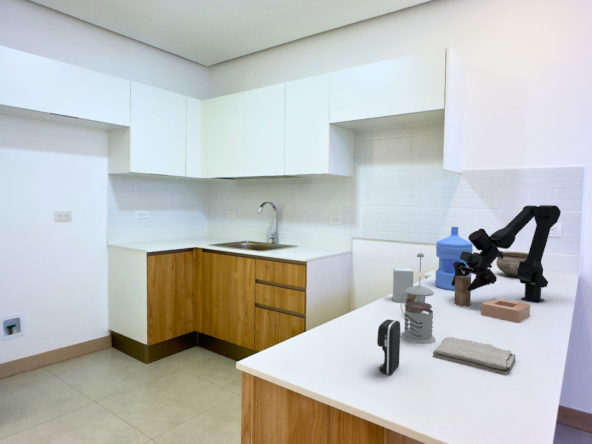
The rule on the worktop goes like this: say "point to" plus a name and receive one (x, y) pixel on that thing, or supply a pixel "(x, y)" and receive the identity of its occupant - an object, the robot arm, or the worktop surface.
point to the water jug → (450, 258)
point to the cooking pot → (511, 262)
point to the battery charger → (389, 344)
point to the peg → (462, 291)
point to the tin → (415, 300)
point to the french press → (418, 315)
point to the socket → (505, 310)
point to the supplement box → (401, 283)
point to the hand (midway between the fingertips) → (459, 287)
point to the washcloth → (475, 354)
